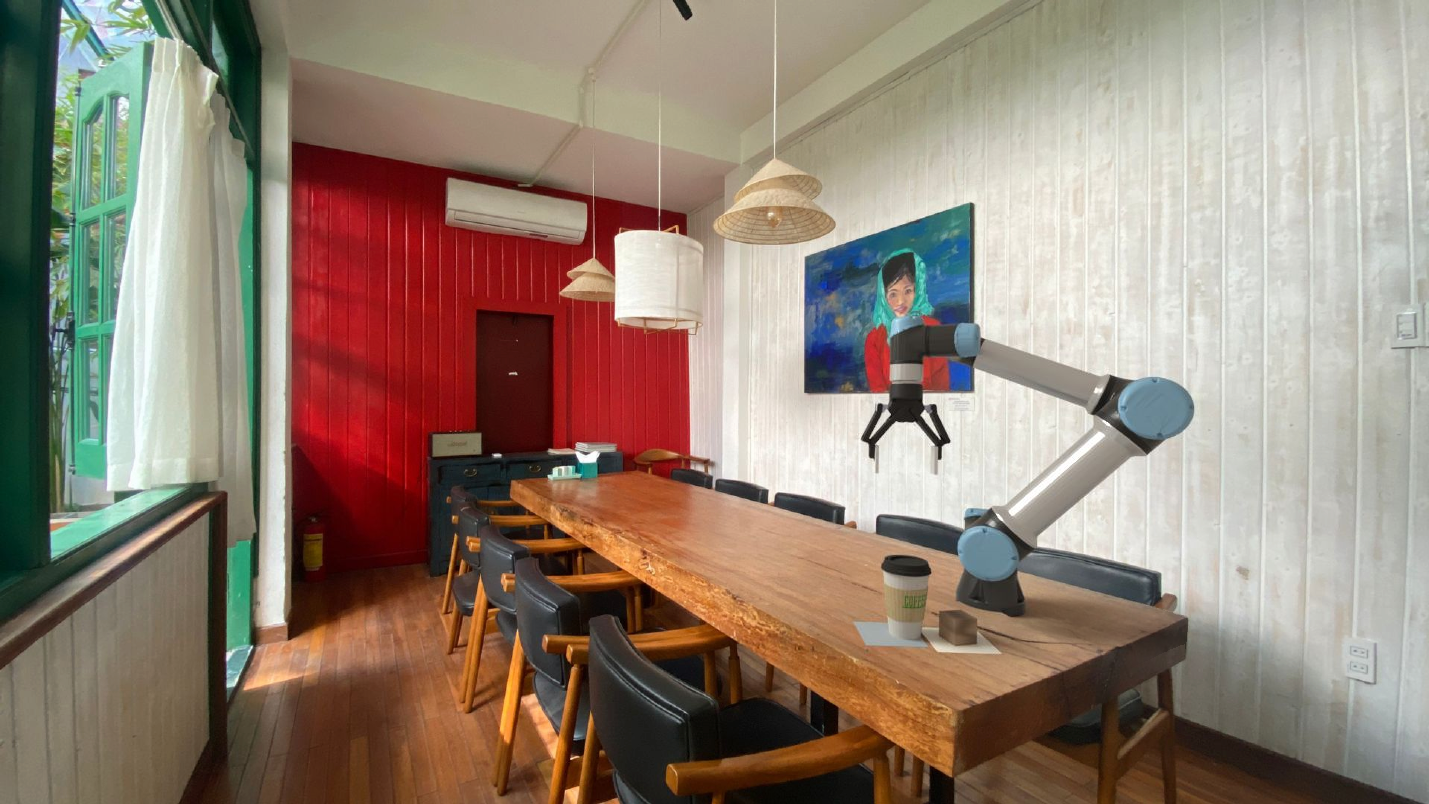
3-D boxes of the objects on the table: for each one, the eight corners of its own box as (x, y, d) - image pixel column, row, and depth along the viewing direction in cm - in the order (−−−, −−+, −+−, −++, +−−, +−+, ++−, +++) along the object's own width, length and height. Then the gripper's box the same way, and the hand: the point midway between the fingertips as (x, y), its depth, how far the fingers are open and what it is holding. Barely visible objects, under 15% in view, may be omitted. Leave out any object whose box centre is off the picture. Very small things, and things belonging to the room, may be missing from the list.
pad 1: (909, 628, 122) (909, 623, 122) (928, 652, 110) (928, 647, 110) (853, 626, 122) (853, 621, 122) (866, 650, 110) (866, 645, 110)
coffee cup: (933, 646, 110) (934, 569, 110) (880, 640, 112) (881, 564, 113) (927, 627, 119) (929, 556, 119) (879, 622, 122) (880, 552, 122)
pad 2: (975, 633, 119) (975, 629, 119) (1002, 659, 107) (1002, 654, 107) (917, 631, 120) (917, 627, 120) (937, 657, 108) (937, 651, 108)
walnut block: (960, 634, 116) (960, 609, 116) (976, 644, 111) (977, 618, 112) (938, 635, 115) (939, 611, 115) (954, 646, 110) (954, 620, 110)
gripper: (953, 384, 137) (952, 472, 137) (849, 382, 138) (848, 470, 138) (966, 383, 130) (964, 476, 129) (856, 381, 130) (854, 474, 130)
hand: (904, 473), depth 134 cm, fingers open, 13 cm apart
